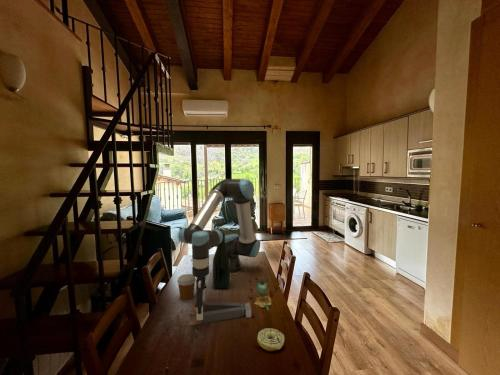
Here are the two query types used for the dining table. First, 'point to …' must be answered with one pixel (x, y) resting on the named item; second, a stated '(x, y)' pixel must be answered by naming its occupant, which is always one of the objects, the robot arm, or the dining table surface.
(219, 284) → the beer bottle
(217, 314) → the tong arm near
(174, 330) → the dining table surface
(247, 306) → the tong hinge cap
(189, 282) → the disposable coffee cup
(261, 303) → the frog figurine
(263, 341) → the decorated donut
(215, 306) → the tong arm far
